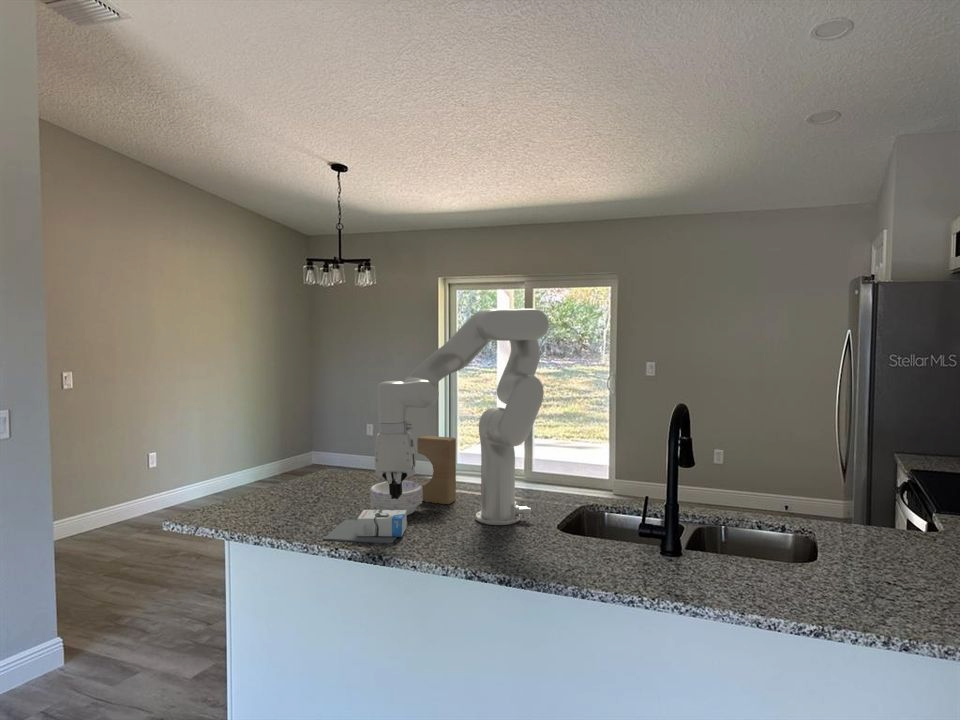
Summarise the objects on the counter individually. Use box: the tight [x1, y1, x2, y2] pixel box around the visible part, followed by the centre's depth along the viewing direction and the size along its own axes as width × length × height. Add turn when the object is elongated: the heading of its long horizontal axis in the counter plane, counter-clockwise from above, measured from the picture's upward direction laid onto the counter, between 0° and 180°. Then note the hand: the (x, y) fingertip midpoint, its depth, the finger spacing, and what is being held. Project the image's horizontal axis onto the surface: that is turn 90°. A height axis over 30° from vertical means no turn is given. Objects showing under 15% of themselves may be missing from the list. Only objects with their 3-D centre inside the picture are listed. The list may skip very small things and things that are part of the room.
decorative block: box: [417, 435, 457, 505], centre depth 191 cm, size 11×6×20 cm, turn 65°
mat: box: [322, 519, 409, 544], centre depth 162 cm, size 18×16×1 cm
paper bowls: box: [369, 480, 423, 516], centre depth 179 cm, size 15×15×8 cm
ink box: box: [356, 509, 408, 538], centre depth 160 cm, size 8×5×12 cm
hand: (396, 497), depth 161 cm, fingers closed
